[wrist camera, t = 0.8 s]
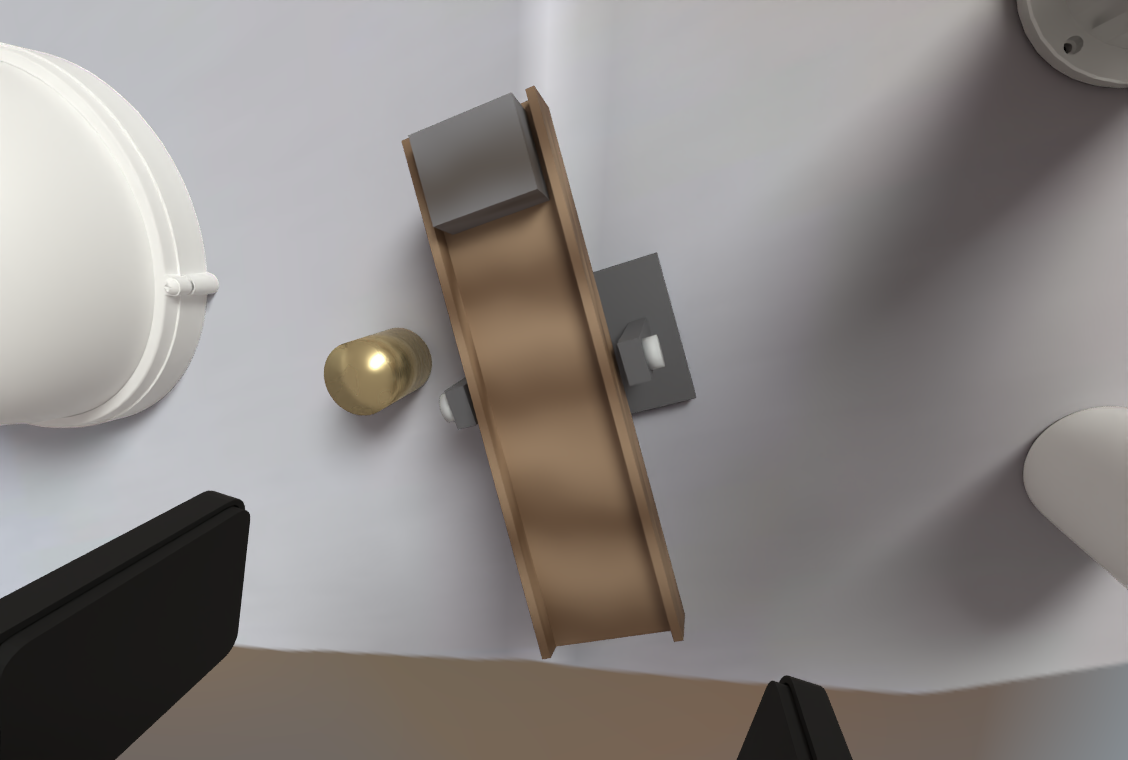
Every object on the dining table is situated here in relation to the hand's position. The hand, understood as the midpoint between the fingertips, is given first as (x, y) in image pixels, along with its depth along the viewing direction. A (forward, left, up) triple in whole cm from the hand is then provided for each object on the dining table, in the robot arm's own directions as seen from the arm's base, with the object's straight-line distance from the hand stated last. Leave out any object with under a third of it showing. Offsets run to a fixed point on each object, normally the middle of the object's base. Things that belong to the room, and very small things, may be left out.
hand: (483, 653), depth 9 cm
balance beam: (+3, -2, -23) cm, 23 cm away
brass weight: (+12, -12, -31) cm, 35 cm away
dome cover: (+25, -41, -31) cm, 58 cm away
